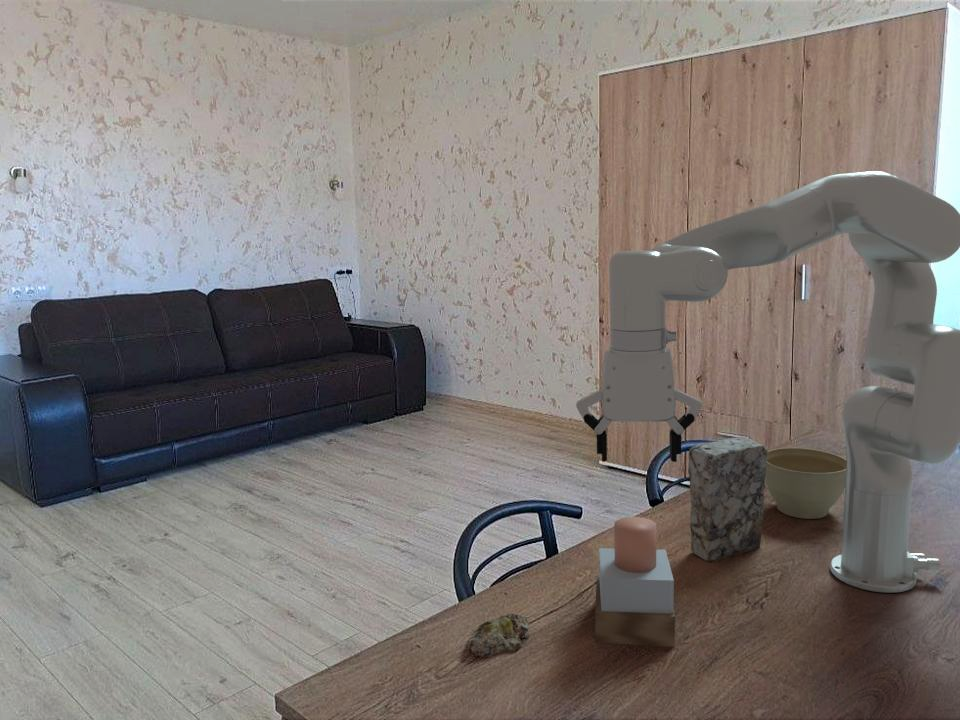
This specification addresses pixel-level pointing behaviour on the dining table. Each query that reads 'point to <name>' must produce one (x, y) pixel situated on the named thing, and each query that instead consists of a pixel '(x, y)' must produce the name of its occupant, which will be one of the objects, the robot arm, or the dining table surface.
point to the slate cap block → (635, 586)
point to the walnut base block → (633, 626)
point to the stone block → (726, 497)
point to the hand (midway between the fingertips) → (638, 458)
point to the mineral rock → (499, 635)
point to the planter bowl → (805, 481)
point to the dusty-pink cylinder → (635, 544)
